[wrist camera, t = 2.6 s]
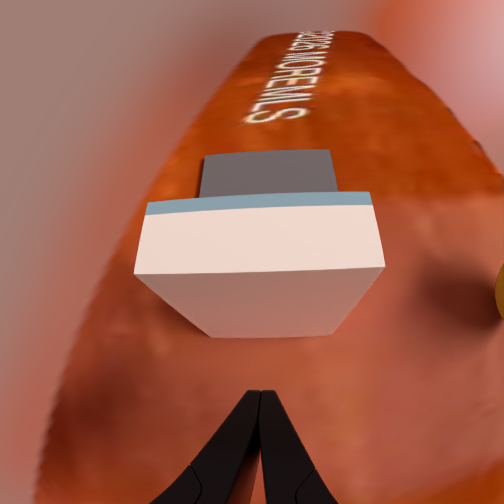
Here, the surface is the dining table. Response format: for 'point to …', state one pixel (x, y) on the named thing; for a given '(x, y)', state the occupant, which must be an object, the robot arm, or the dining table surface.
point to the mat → (268, 173)
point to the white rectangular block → (262, 261)
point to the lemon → (500, 291)
